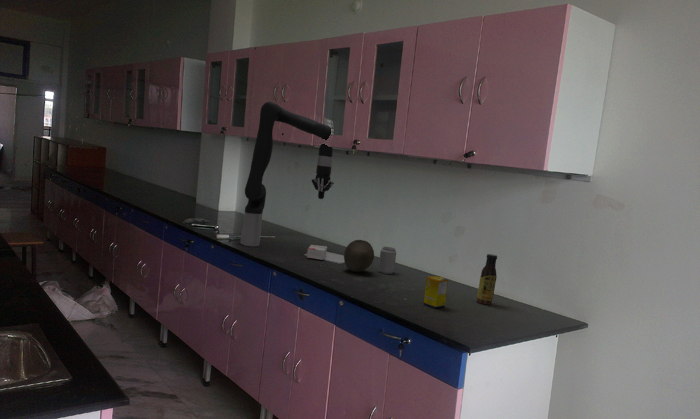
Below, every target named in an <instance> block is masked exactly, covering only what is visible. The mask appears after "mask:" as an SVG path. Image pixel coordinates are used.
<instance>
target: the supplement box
mask: <svg viewBox="0 0 700 419" xmlns="http://www.w3.org/2000/svg"><path fill="white" fill-rule="evenodd" d="M425 281H426V282H425V290H424V299H423V306H426V305H427V307H429V306H430V308H432V309H434V308H436V309H442V308H445V307H446V300H447V291H448V285H449V278H446V277H442V276H439V275H433V276H431V275H430V276H426V280H425Z"/></svg>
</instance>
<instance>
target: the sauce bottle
mask: <svg viewBox="0 0 700 419" xmlns="http://www.w3.org/2000/svg"><path fill="white" fill-rule="evenodd" d="M497 259H498V255H497V254H492V253H487V255H486V261H485V266H483V268H482V269H481V273H480V277H479V284H478V288H477V289H478V290H477V294H476V302H477V303H479V304H482V305H487V306H488V305H492V304H493V303H492V302H494V294H495V287H496V283H497V269H496V264H497Z"/></svg>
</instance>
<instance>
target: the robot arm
mask: <svg viewBox="0 0 700 419" xmlns="http://www.w3.org/2000/svg"><path fill="white" fill-rule="evenodd" d="M275 122H279V123H283V124H287V125H290V126H291V127H293V128H294V129H295V128H296V129H297V130H300V131H302V132H305V133H307V134H310V135H314V136H316V137H318V138H320V139H321V140H322V139H325V140H327V139H328V138H329V136H330V134H331V128H330V127H331V126H330V125H328V124H325V123H320V122H318V121H316V120H314V119H311V118H309V117H305V116H303V115H300V114H297V113H293V112H291V111H289V110H286V109H285V108H283V107H282V106H280V105H278V104H277V103H276V102H273V101H267V102H266V101H265V103H263V105H262V106H261V108H260V113H259V124H258V130H257V133H256V139H255V143H254V146H253V147H254V148H253V153H252V159H251V164H250V170H249V174H248V178H247V180H246V184H245V188H244V195H245V197H246V199H247V205H245V207H244V216H243V225H242V226H241V232H240V242H239V243H240V244H241V245H242V246H245V247H260V241H261V233H262V232H261V231H262V224H263V223H262V222H263V212H264V208H265V205H266V198H267V189H266V187H265V185H264V184H263V178H264V174H265V172H266V171H267V169H268V166H269V164H270V161H271V158H272V153H273V147H274V146H273V145H274V144H273V142H274V141H273V130H274V126H275ZM329 126H330V127H329ZM333 153H334V147H333V148H332V147H328V146H327V145H325V144H321V143H320V145H319V147H318V157H317V163H316V169H315V170H316V171H315V173H316V176H315V178H313V179H311V183H312V185H313V188H314V190H316V191H318V193H317V198H318V199H319V200H324V198H325V193H326V192H328V191H329V190H330V189H331V188H332V186H333V185H335V183H334V181H332V180H331V174H332V166H333Z"/></svg>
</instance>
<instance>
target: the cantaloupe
mask: <svg viewBox="0 0 700 419" xmlns="http://www.w3.org/2000/svg"><path fill="white" fill-rule="evenodd" d="M343 256H344V261H345V263H344V264H345V266H346V268H347V269H348V270H349V271H351V272H353V273H361V272H363V271H365V270H367V269H368V268H369V267H371V265H372V264H373V262H374V259H375V251H374V249H373V246H372V244H371V242H368V241H367V240H363V239H355V240H353V241H351V242H349V244H348V245H347V246H346V248H345V250H344V253H343Z"/></svg>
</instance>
